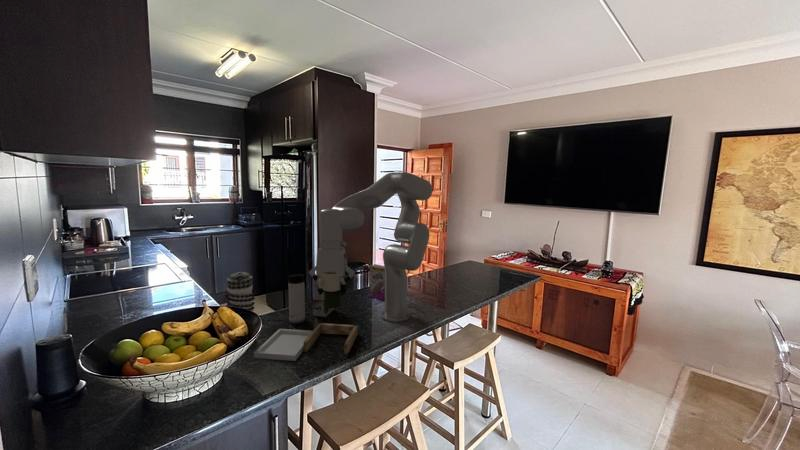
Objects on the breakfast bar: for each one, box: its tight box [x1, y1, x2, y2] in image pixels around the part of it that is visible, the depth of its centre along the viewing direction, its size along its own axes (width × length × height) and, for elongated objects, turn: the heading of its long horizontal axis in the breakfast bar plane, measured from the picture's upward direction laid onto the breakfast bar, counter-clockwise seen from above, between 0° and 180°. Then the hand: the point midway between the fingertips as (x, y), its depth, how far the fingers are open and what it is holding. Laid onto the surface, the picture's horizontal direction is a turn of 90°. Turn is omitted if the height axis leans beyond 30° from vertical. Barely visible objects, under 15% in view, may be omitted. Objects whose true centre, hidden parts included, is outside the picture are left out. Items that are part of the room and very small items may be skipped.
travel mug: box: [287, 273, 306, 324], centre depth 134 cm, size 6×7×20 cm
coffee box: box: [312, 275, 335, 318], centre depth 144 cm, size 9×6×16 cm
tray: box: [253, 328, 313, 362], centre depth 114 cm, size 14×18×2 cm
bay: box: [303, 322, 359, 356], centre depth 117 cm, size 15×15×4 cm
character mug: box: [318, 273, 342, 309], centre depth 115 cm, size 11×7×13 cm, turn 136°
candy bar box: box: [368, 263, 385, 302], centre depth 163 cm, size 11×5×16 cm, turn 58°
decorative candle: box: [225, 271, 256, 313], centre depth 115 cm, size 9×9×25 cm
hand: (332, 293), depth 115 cm, fingers closed on character mug, 7 cm apart
